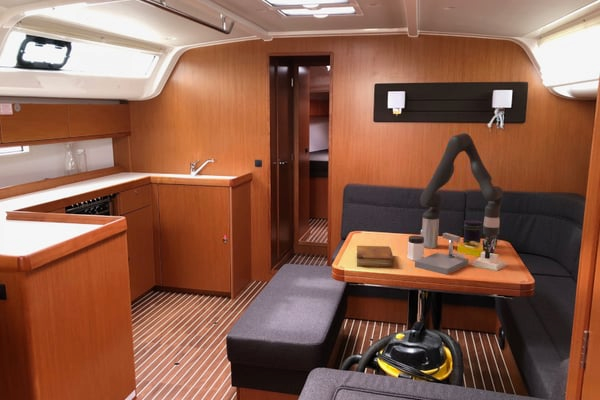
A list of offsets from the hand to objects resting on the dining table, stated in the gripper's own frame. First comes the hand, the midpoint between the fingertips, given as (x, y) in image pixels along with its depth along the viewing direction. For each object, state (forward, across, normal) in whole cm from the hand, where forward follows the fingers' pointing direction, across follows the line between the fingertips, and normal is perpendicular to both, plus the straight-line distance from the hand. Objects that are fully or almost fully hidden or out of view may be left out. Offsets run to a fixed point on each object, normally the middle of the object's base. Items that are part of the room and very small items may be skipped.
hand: (489, 257), depth 251 cm
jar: (+4, -16, +34) cm, 38 cm away
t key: (+1, -10, +15) cm, 18 cm away
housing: (+4, -18, +17) cm, 25 cm away
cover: (+4, 0, 0) cm, 4 cm away
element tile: (+5, +19, +16) cm, 26 cm away
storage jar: (+4, +31, +24) cm, 39 cm away
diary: (+5, -35, +47) cm, 59 cm away
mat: (+4, 0, 0) cm, 4 cm away
